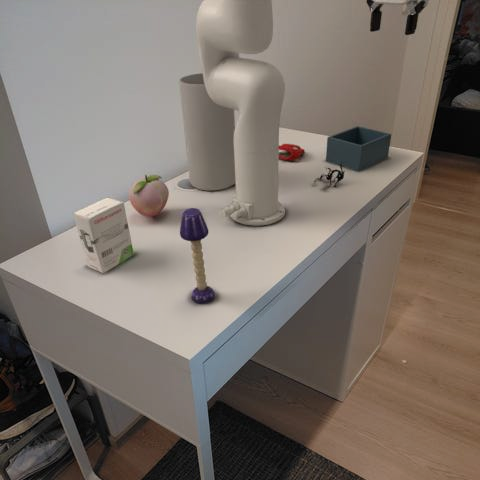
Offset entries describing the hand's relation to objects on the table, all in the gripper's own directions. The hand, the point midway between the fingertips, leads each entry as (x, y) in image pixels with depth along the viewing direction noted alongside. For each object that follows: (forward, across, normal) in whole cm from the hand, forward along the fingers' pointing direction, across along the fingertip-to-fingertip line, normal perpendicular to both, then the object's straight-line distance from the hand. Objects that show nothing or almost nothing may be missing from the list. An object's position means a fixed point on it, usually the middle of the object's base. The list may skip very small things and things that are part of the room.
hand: (391, 32), depth 115 cm
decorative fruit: (+31, -17, -63) cm, 72 cm away
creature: (+31, +1, -21) cm, 38 cm away
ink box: (+31, -6, -80) cm, 86 cm away
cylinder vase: (+31, -22, -40) cm, 55 cm away
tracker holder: (+31, -22, -13) cm, 40 cm away
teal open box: (+31, -4, -2) cm, 32 cm away
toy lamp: (+31, +17, -75) cm, 83 cm away
